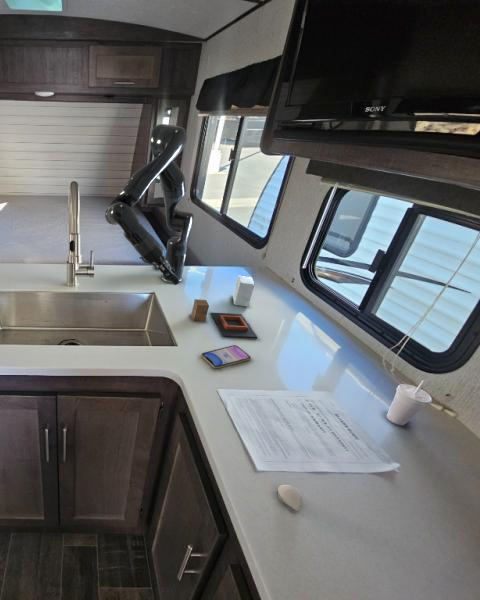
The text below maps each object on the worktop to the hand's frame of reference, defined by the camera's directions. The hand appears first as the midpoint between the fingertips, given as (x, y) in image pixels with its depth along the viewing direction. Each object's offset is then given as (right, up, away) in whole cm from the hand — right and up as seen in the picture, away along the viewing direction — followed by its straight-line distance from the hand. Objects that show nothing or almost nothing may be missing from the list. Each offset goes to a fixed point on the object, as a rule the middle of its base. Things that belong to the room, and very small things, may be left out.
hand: (175, 278), depth 119 cm
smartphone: (+13, -27, -13) cm, 33 cm away
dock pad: (+23, -18, +4) cm, 29 cm away
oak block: (+11, -16, +8) cm, 21 cm away
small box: (+34, -9, +21) cm, 41 cm away
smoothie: (+48, -40, -34) cm, 71 cm away
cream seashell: (+7, -50, -53) cm, 73 cm away
